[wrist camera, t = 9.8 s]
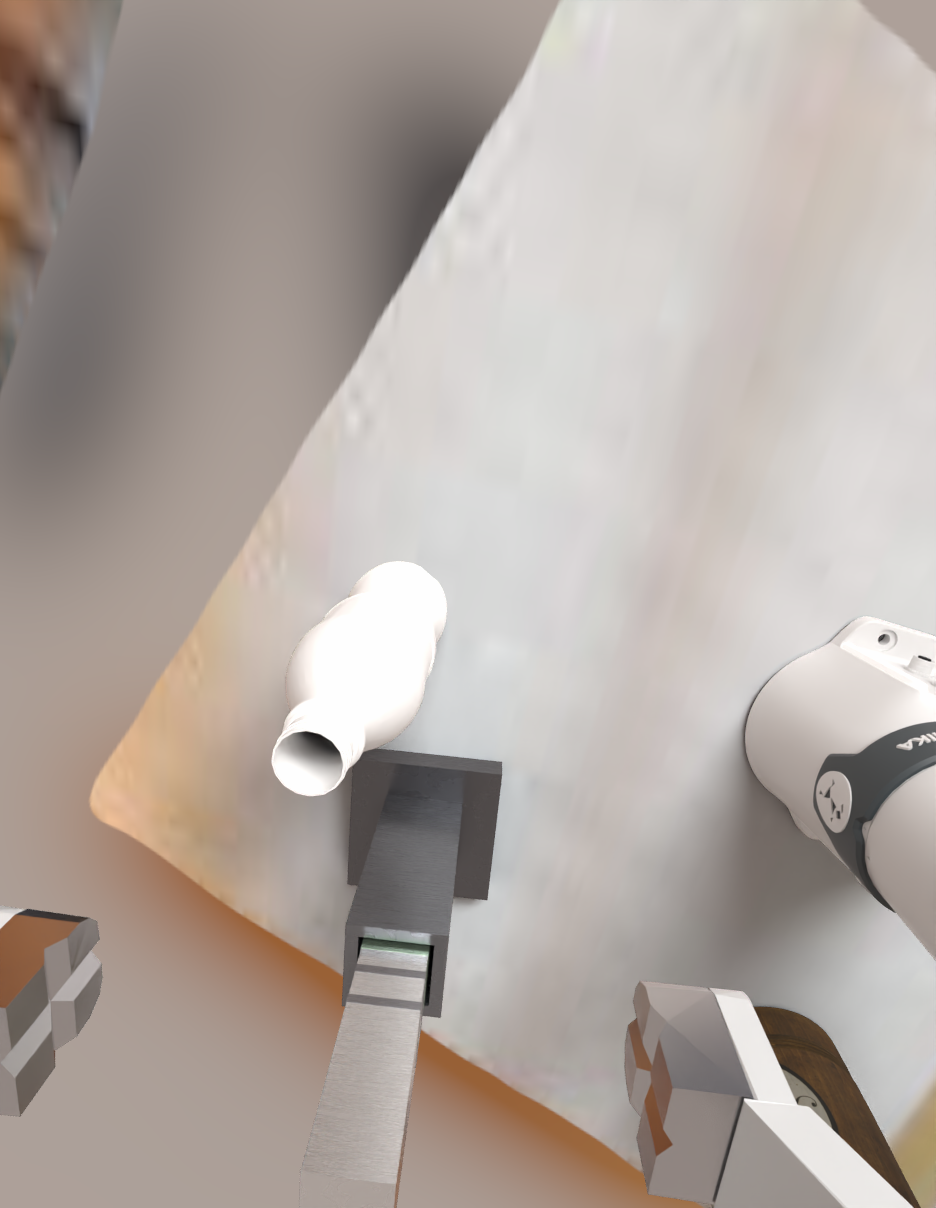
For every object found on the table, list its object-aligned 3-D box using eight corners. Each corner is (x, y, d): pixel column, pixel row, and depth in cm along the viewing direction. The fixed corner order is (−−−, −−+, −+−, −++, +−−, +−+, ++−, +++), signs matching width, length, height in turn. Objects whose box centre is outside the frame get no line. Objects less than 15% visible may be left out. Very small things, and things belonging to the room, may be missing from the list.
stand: (501, 762, 52) (502, 908, 36) (487, 883, 55) (482, 1068, 39) (358, 746, 52) (295, 884, 36) (352, 868, 55) (292, 1045, 39)
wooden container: (734, 979, 56) (876, 1308, 35) (870, 1047, 57) (1086, 1405, 36) (644, 1085, 60) (723, 1441, 39) (774, 1147, 61) (919, 1525, 40)
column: (441, 863, 45) (396, 1184, 26) (437, 909, 46) (391, 1251, 27) (385, 856, 45) (299, 1172, 26) (382, 903, 46) (297, 1239, 27)
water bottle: (429, 657, 50) (361, 867, 26) (345, 622, 49) (196, 801, 25) (464, 577, 48) (427, 722, 24) (378, 540, 47) (250, 648, 23)
